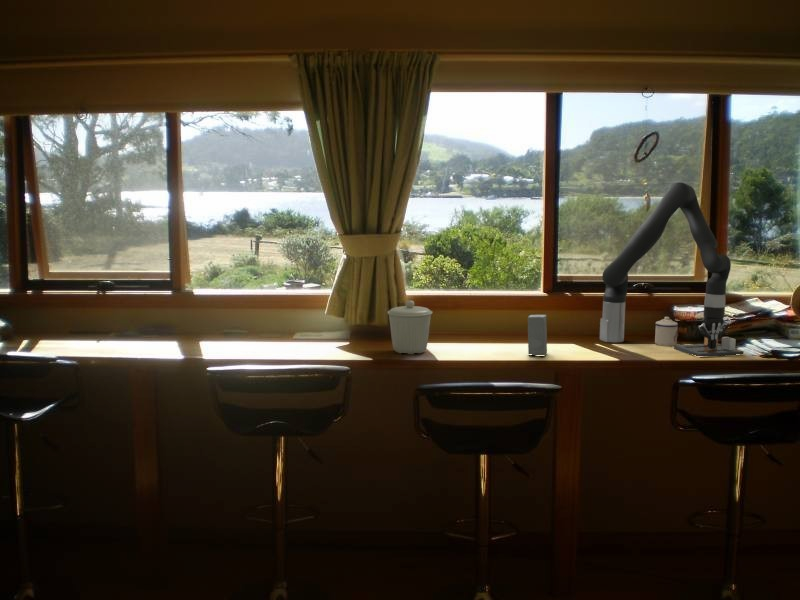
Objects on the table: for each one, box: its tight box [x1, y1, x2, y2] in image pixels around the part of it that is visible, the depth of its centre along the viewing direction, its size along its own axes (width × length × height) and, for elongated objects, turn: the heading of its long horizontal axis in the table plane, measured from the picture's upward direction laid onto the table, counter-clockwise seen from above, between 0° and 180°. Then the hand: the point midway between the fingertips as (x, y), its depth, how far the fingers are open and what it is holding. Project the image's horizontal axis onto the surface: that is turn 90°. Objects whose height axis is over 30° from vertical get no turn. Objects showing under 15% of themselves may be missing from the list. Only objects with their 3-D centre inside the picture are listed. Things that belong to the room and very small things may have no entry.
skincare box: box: [527, 314, 548, 356], centre depth 276 cm, size 8×7×16 cm
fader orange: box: [703, 337, 719, 346], centre depth 286 cm, size 3×5×5 cm, turn 13°
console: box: [673, 343, 745, 357], centre depth 282 cm, size 20×17×2 cm
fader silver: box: [721, 336, 737, 350], centre depth 279 cm, size 3×5×5 cm, turn 13°
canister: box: [386, 300, 433, 355], centre depth 281 cm, size 18×18×21 cm
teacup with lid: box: [654, 316, 679, 347], centre depth 298 cm, size 12×9×12 cm
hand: (711, 348), depth 278 cm, fingers closed
